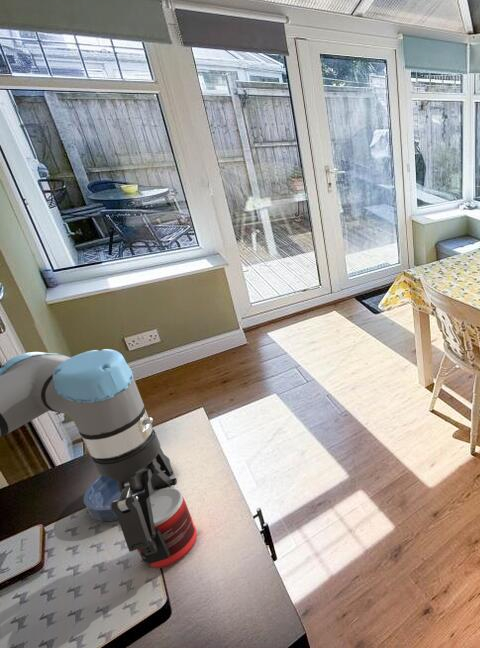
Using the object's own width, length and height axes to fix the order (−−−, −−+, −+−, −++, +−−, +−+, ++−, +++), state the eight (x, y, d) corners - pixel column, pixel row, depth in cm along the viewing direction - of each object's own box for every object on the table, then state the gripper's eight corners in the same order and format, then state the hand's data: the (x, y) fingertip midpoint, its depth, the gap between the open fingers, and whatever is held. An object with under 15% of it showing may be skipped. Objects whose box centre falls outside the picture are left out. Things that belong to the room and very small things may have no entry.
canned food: (153, 535, 77) (134, 494, 73) (203, 521, 80) (188, 481, 75) (136, 577, 70) (113, 535, 66) (191, 561, 73) (173, 519, 69)
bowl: (77, 533, 77) (70, 520, 76) (105, 476, 88) (99, 464, 87) (165, 507, 82) (160, 495, 81) (181, 456, 93) (177, 445, 92)
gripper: (131, 487, 58) (177, 585, 67) (170, 394, 75) (202, 482, 84) (59, 506, 55) (118, 606, 64) (117, 405, 72) (157, 495, 81)
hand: (166, 536), depth 74 cm, fingers closed on canned food, 8 cm apart
